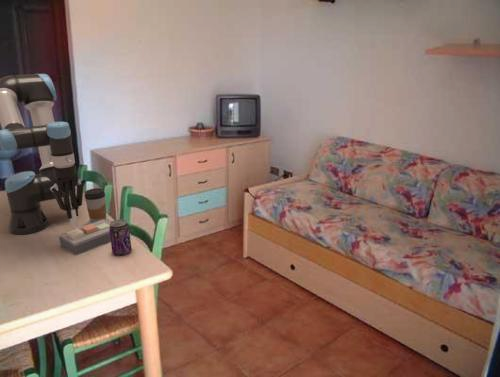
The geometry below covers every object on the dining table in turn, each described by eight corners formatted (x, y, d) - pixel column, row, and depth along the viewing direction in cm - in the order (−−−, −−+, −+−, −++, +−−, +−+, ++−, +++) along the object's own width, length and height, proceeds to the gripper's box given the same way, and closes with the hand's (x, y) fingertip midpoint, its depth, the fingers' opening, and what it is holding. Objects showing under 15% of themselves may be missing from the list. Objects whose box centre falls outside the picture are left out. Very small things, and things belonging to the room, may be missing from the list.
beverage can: (121, 258, 162) (117, 228, 158) (108, 253, 165) (104, 224, 161) (135, 250, 167) (132, 221, 163) (122, 245, 171) (119, 217, 167)
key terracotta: (82, 234, 174) (81, 227, 173) (92, 230, 177) (91, 223, 176) (87, 237, 171) (86, 230, 170) (98, 233, 174) (97, 226, 173)
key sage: (96, 232, 178) (95, 226, 177) (105, 229, 181) (104, 222, 180) (101, 236, 176) (100, 229, 175) (111, 232, 179) (110, 225, 178)
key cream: (68, 239, 170) (66, 232, 169) (78, 235, 173) (77, 228, 172) (73, 242, 167) (72, 235, 166) (84, 238, 170) (83, 231, 169)
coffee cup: (102, 228, 186) (98, 195, 181) (84, 227, 188) (79, 194, 183) (112, 220, 194) (108, 188, 189) (95, 219, 196) (90, 187, 190)
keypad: (60, 245, 172) (59, 234, 171) (104, 229, 185) (103, 219, 184) (76, 255, 165) (74, 243, 163) (120, 237, 178) (119, 227, 176)
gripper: (51, 171, 153) (62, 233, 161) (86, 163, 162) (95, 222, 170) (41, 167, 158) (52, 228, 165) (76, 159, 167) (85, 217, 175)
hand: (74, 225), depth 168 cm, fingers closed
